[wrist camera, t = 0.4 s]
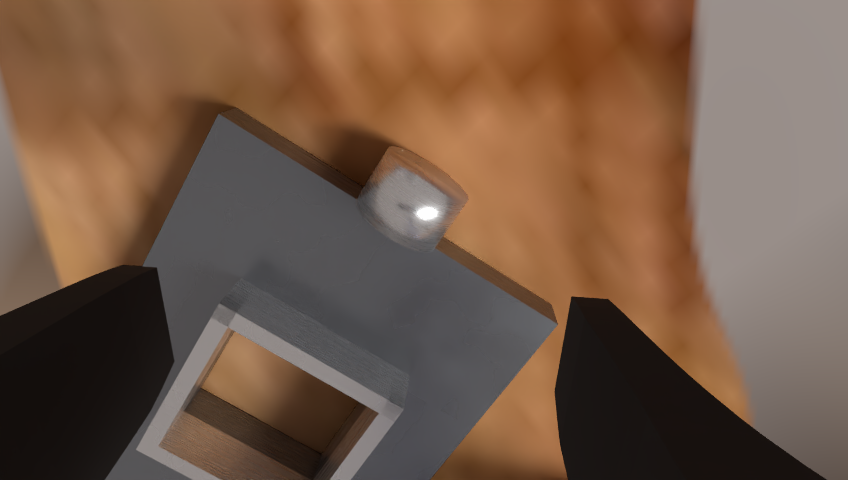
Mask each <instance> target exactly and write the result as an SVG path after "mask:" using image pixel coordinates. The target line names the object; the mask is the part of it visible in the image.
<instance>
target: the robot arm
mask: <svg viewBox="0 0 848 480" xmlns="http://www.w3.org/2000/svg"><path fill="white" fill-rule="evenodd" d="M174 362H175V361H174V356H173V350H172V345H171V340H170V334H169V329H168V324H167V318H166V313H165V308H164V302H163V297H162V292H161V286H160V281H159V276H158V270H157V267H144V266H130V265H122V266H119V267H115V268H112V269H109V270H106V271H104V272H101V273H99V274H96V275H93V276H91V277H89V278H86V279H84V280H81V281H79V282H77V283H74V284H72V285H70V286H67V287H65V288H63V289H60V290H58V291H56V292H54V293H51V294H49V295H47V296H45V297H43V298H40V299H38V300H35V301H33V302H31V303H29V304H26V305H24V306H22V307H19V308H17V309H15V310H13V311H10V312H8V313H6V314H4V315H1V316H0V480H105V479H106V477H107V476H108V474H109V473H110V472H111V470H112V469H113V467H114V466H115V464H116V463H117V461H118V460H119V458H120V457H121V455H122V454H123V452H124V451H125V449H126V448H127V446H128V445H129V443H130V442H131V440H132V439H133V437H134V436H135V434H136V433H137V431H138V430H139V428H140V427H141V425H142V424H143V422H144V421H145V419H146V418H147V416H148V414H149V413H150V411H151V409H152V408H153V406H154V404H155V402H156V400H157V398H158V396H159V394H160V392H161V390H162V388H163V386H164V383H165V381H166V379H167V377H168V375H169V373H170V370H171V368H172V366H173V364H174ZM555 400H556V411H557V421H558V430H559V439H560V446H561V451H562V455H563V460H564V464H565V468H566V473H567V477H568V480H826V479H825V478H823V477H822V476H820V475H819V474H817V473H816V472H814V471H813V470H811V469H810V468H808V467H807V466H805V465H804V464H802V463H801V462H800V461H798V460H797V459H795V458H794V457H793V456H791V455H790V454H788V453H787V452H786V451H784V450H783V449H781V448H780V447H779V446H777V445H775V444H774V443H773V442H772V441H770V440H769V439H767V438H766V437H764V436H763V435H762V434H760V433H759V432H758V431H756V430H755V429H754V428H752V427H751V426H750V425H749V424H747V423H746V422H745V421H743V420H742V419H741V418H739V417H738V416H737V415H736V414H735V413H733V412H732V411H731V410H730V409H729V408H727V407H726V406H725V405H724V404H722V403H721V402H720V401H719V400H718V399H716V398H715V397H714V396H713V395H711V394H710V393H709V392H708V391H707V390H705V389H704V388H703V387H702V386H701V385H700V384H699V383H697V382H696V381H695V380H694V379H693V378H692V377H690V376H689V375H688V374H687V373H686V372H685V371H684V370H683V369H682V368H680V367H679V366H678V365H677V364H676V363H675V362H674V361H673V360H672V359H671V358H670V357H669V356H667V355H666V354H665V353H664V352H663V351H662V350H661V349H660V348H659V347H658V346H657V345H656V344H655V343H654V342H653V341H652V340H651V339H650V338H648V337H647V336H646V335H645V334H644V333H643V332H642V331H641V330H640V329H639V328H638V327H637V326H636V325H635V324H634V323H633V322H632V321H631V320H630V319H629V318H628V317H627V316H626V315H625V314H624V313H623V312H622V311H621V310H620V309H618V308H617V307H616V306H615V305H614V304H613V303H612V302H611V301H610V300H608V299H599V298H584V297H571V302H570V308H569V313H568V319H567V325H566V330H565V336H564V341H563V347H562V353H561V358H560V364H559V369H558V375H557V381H556V386H555Z"/></svg>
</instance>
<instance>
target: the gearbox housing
mask: <svg viewBox="0 0 848 480" xmlns="http://www.w3.org/2000/svg"><path fill="white" fill-rule="evenodd" d="M467 201H468V196H467V194H466V192H465V191H464V190H463V189H462V188H461V186H460V185H459V184H458V183H456V182H455V181H454V180H453V179H452V178H451V177H450V176H448V175H447V174H446V173H444V172H443V171H442V170H440V169H439V168H438V167H436V166H435V165H433V164H432V163H430V162H428V161H427V160H425V159H423V158H422V157H420V156H418V155H416V154H414V153H412V152H410V151H408V150H405V149H403V148H400V147H396V146H390V147H388V149H387V151H386V152H385V154H384V155H383V157H382V159H381V160H380V162H379V163H378V165H377V167H376V168H375V170H374V171H373V173H372V175H371V176H370V178H369V180H368V181H367V183H366V184H365V186H364V187H362V186H361V185H359V184H357V183H356V182H354V181H353V180H351V179H349V178H348V177H346V176H345V175H343V174H341V173H340V172H338V171H337V170H335V169H333V168H332V167H330V166H329V165H327V164H325V163H324V162H322V161H321V160H319V159H317V158H316V157H314V156H313V155H311V154H309V153H308V152H306V151H305V150H303V149H301V148H300V147H298V146H297V145H295V144H293V143H292V142H290V141H289V140H287V139H285V138H284V137H282V136H281V135H279V134H277V133H276V132H274V131H273V130H271V129H269V128H268V127H266V126H265V125H263V124H261V123H260V122H258V121H257V120H255V119H253V118H252V117H250V116H249V115H247V114H245V113H244V112H242V111H241V110H239V109H237V108H234V109H231V110H228V111H225V112H222V113H219V114H218V116H217V118H216V120H215V122H214V124H213V126H212V128H211V130H210V132H209V134H208V136H207V138H206V140H205V142H204V144H203V146H202V148H201V150H200V152H199V154H198V156H197V158H196V160H195V162H194V164H193V166H192V168H191V170H190V172H189V174H188V176H187V178H186V180H185V182H184V184H183V186H182V188H181V190H180V192H179V194H178V196H177V198H176V200H175V202H174V204H173V206H172V208H171V210H170V212H169V214H168V216H167V218H166V220H165V222H164V224H163V226H162V228H161V230H160V232H159V234H158V236H157V238H156V240H155V242H154V244H153V246H152V248H151V250H150V252H149V254H148V256H147V258H146V260H145V262H144V264H143V266H144V267H157V270H158V276H159V281H160V286H161V292H162V297H163V302H164V308H165V313H166V318H167V324H168V329H169V334H170V340H171V345H172V350H173V356H174V361H175V362H174V364H173V366H172V368H171V370H170V373H169V375H168V377H167V379H166V381H165V383H164V386H163V388H162V390H161V392H160V394H159V396H158V398H157V400H156V402H155V404H154V406H153V408H152V409H151V411H150V413H149V414H148V416H147V418H146V419H145V421H144V422H143V424H142V425H141V427H140V428H139V430H138V431H137V433H136V434H135V436H134V437H133V439H132V440H131V442H130V443H129V445H128V446H127V448H126V449H125V451H124V452H123V454H122V455H121V457H120V458H119V460H118V461H117V463H116V464H115V466H114V467H113V469H112V470H111V472H110V473H109V474H108V476H107V477H106V479H105V480H430V479H431V478H432V476H433V475H434V474H435V473H436V472H437V470H438V469H439V468H440V467H441V466H442V464H443V463H444V462H445V461H446V459H447V458H448V457H449V456H450V455H451V453H452V452H453V451H454V450H455V449H456V447H457V446H458V445H459V444H460V442H461V441H462V440H463V439H464V438H465V436H466V435H467V434H468V433H469V432H470V430H471V429H472V428H473V427H474V426H475V424H476V423H477V422H478V421H479V419H480V418H481V417H482V416H483V415H484V413H485V412H486V411H487V410H488V409H489V407H490V406H491V405H492V404H493V402H494V401H495V400H496V399H497V398H498V396H499V395H500V394H501V393H502V392H503V390H504V389H505V388H506V387H507V385H508V384H509V383H510V382H511V381H512V379H513V378H514V377H515V376H516V375H517V373H518V372H519V371H520V370H521V368H522V367H523V366H524V365H525V364H526V362H527V361H528V360H529V359H530V358H531V356H532V355H533V354H534V353H535V352H536V350H537V349H538V348H539V347H540V345H541V344H542V343H543V342H544V341H545V339H546V338H547V337H548V336H549V335H550V333H551V332H552V331H553V330H554V328H555V327H556V326H557V325H558V323H557V320H556V317H555V314H554V311H553V308H552V305H551V304H549V303H548V302H546V301H544V300H543V299H541V298H540V297H538V296H536V295H535V294H533V293H532V292H530V291H528V290H527V289H525V288H524V287H522V286H520V285H519V284H517V283H516V282H514V281H512V280H511V279H509V278H508V277H506V276H504V275H503V274H501V273H500V272H498V271H496V270H495V269H493V268H492V267H490V266H488V265H487V264H485V263H484V262H482V261H480V260H479V259H477V258H476V257H474V256H473V255H471V254H469V253H468V252H466V251H465V250H463V249H461V248H460V247H458V246H457V245H455V244H453V243H452V242H450V241H449V240H447V239H445V238H444V237H443V236H444V234H445V233H446V231H447V230H448V229H449V227H450V226H451V224H452V223H453V221H454V220H455V219H456V217H457V216H458V214H459V213H460V211H461V210H462V208H463V207H464V206H465V204H466V203H467ZM234 331H235V332H237V333H239V334H241V335H243V336H244V337H246V338H248V339H250V340H251V341H253V342H255V343H257V344H258V345H260V346H262V347H264V348H265V349H267V350H269V351H271V352H272V353H274V354H276V355H278V356H279V357H281V358H283V359H285V360H286V361H288V362H290V363H292V364H293V365H295V366H297V367H299V368H301V369H302V370H304V371H306V372H308V373H309V374H311V375H313V376H315V377H316V378H318V379H320V380H322V381H323V382H325V383H327V384H329V385H330V386H332V387H334V388H336V389H337V390H339V391H341V392H343V393H344V394H346V395H348V396H350V397H352V398H353V399H355V400H357V401H359V403H358V404H357V406H356V407H355V408H354V410H353V411H352V413H351V414H350V415H349V417H348V418H347V420H346V421H345V422H344V424H343V425H342V426H341V428H340V429H339V431H338V432H337V433H336V435H335V436H334V438H333V439H332V440H331V442H330V443H329V445H328V446H327V447H326V449H325V450H324V451H323V453H322V454H319V453H317V452H316V451H314V450H312V449H310V448H308V447H307V446H305V445H303V444H301V443H299V442H297V441H296V440H294V439H292V438H290V437H288V436H286V435H285V434H283V433H281V432H279V431H277V430H276V429H274V428H272V427H270V426H268V425H266V424H265V423H263V422H261V421H259V420H257V419H256V418H254V417H252V416H250V415H248V414H246V413H245V412H243V411H241V410H239V409H237V408H236V407H234V406H232V405H230V404H228V403H226V402H225V401H223V400H221V399H219V398H217V397H216V396H214V395H212V394H210V393H208V392H206V391H205V390H203V389H201V387H202V385H203V383H204V382H205V380H206V378H207V377H208V375H209V373H210V372H211V370H212V368H213V366H214V365H215V363H216V361H217V360H218V358H219V356H220V355H221V353H222V351H223V350H224V348H225V346H226V344H227V343H228V341H229V339H230V338H231V336H232V334H233V333H234Z"/></svg>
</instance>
